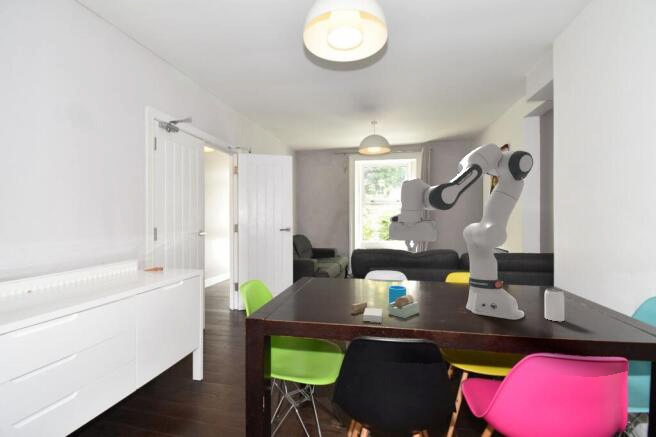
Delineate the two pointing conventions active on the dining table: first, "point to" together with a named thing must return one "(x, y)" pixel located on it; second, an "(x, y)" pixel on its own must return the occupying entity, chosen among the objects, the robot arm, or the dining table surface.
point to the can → (554, 304)
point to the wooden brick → (359, 307)
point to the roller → (404, 301)
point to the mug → (396, 292)
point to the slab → (372, 315)
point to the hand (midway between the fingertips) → (411, 251)
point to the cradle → (403, 310)
